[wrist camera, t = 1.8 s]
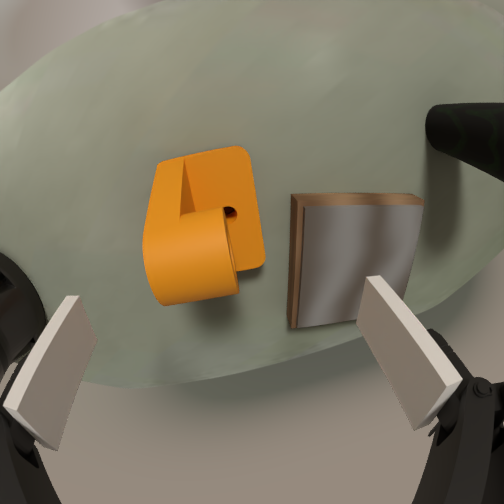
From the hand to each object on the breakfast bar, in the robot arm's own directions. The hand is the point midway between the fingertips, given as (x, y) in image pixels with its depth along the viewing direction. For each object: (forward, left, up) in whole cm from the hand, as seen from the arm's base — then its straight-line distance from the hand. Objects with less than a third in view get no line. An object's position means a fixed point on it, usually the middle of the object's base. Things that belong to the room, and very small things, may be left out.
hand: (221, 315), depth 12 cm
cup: (+25, +9, -16) cm, 31 cm away
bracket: (0, 0, -16) cm, 16 cm away
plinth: (+14, -6, -15) cm, 21 cm away
